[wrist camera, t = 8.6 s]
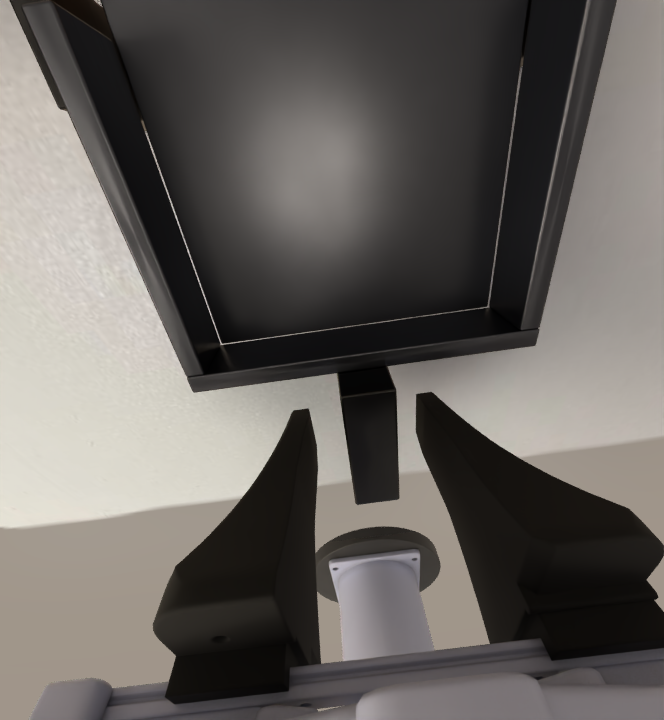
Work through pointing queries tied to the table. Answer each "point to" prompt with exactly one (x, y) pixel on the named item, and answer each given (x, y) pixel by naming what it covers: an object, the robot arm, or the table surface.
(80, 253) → the table surface
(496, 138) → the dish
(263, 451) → the table surface
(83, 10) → the bracket
